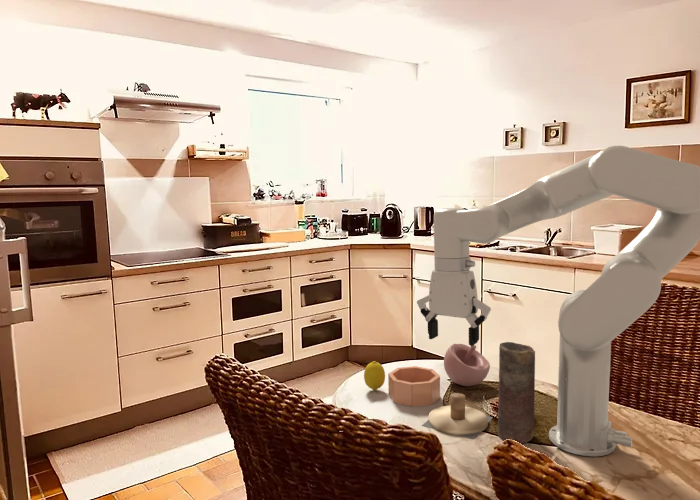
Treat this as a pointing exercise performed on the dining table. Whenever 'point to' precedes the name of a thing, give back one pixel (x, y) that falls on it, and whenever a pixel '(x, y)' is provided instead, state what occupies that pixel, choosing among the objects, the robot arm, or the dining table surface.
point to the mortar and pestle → (465, 365)
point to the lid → (458, 417)
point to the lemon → (374, 375)
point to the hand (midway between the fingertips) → (452, 340)
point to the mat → (459, 435)
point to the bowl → (414, 386)
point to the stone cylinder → (516, 392)
